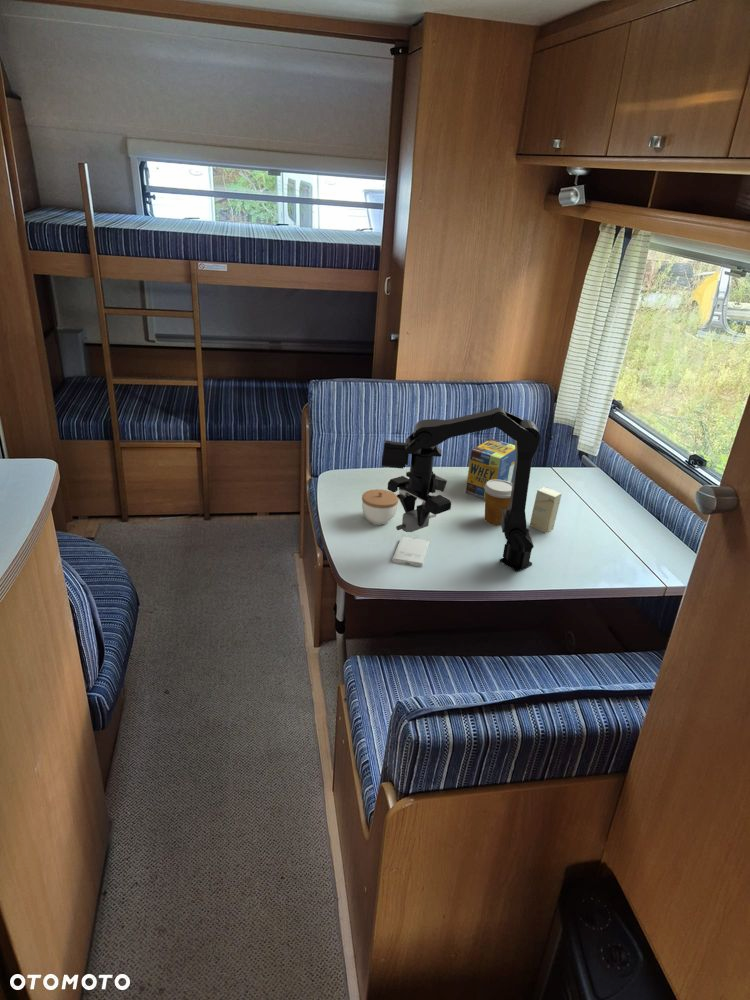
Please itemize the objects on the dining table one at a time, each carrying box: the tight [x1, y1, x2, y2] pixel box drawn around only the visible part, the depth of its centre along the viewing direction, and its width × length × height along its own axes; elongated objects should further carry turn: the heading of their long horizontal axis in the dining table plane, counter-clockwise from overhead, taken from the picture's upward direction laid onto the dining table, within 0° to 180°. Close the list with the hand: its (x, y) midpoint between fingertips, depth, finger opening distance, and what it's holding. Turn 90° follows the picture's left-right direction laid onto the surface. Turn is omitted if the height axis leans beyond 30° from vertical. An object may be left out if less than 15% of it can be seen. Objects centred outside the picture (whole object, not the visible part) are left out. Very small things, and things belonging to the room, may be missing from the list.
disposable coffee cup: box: [484, 479, 512, 526], centre depth 197 cm, size 10×10×12 cm
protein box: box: [465, 438, 516, 500], centre depth 217 cm, size 10×15×16 cm
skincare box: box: [529, 486, 563, 533], centre depth 195 cm, size 6×4×12 cm
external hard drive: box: [392, 536, 430, 567], centre depth 178 cm, size 2×8×12 cm
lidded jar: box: [361, 488, 399, 526], centre depth 193 cm, size 11×11×9 cm
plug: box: [395, 508, 437, 533], centre depth 174 cm, size 13×4×4 cm, turn 130°
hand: (415, 523), depth 174 cm, fingers closed on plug, 4 cm apart
